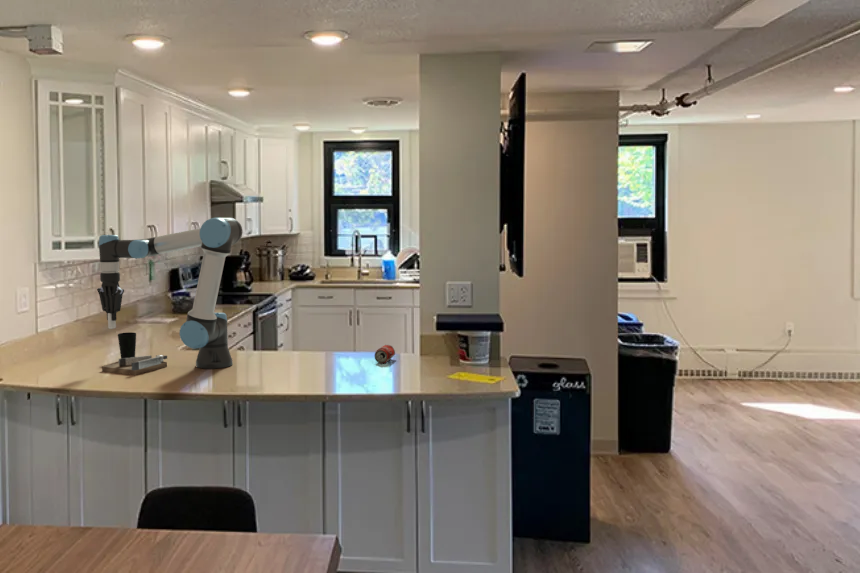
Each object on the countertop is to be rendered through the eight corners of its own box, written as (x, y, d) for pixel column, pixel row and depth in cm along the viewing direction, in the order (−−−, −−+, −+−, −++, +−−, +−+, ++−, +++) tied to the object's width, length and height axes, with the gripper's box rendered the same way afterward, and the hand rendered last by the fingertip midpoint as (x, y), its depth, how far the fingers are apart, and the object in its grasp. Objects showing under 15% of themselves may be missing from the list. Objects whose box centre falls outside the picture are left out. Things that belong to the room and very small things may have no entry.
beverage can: (372, 364, 327) (372, 349, 327) (380, 359, 339) (379, 344, 339) (388, 364, 326) (388, 349, 325) (395, 359, 338) (395, 344, 337)
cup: (130, 362, 332) (129, 335, 331) (115, 361, 334) (114, 334, 332) (140, 359, 340) (139, 332, 338) (125, 358, 341) (124, 332, 340)
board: (167, 366, 323) (166, 362, 322) (135, 375, 306) (134, 370, 306) (135, 363, 330) (134, 358, 330) (102, 371, 313) (101, 366, 313)
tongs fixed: (169, 361, 324) (169, 354, 323) (134, 370, 305) (134, 363, 305) (162, 360, 325) (162, 353, 325) (127, 369, 307) (127, 362, 307)
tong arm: (151, 362, 320) (151, 355, 320) (119, 366, 313) (119, 359, 312) (151, 362, 321) (150, 355, 321) (119, 365, 314) (118, 358, 313)
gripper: (128, 272, 314) (130, 328, 316) (105, 270, 319) (107, 326, 322) (114, 273, 307) (116, 330, 310) (91, 272, 312) (93, 328, 315)
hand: (112, 328), depth 316 cm, fingers closed
